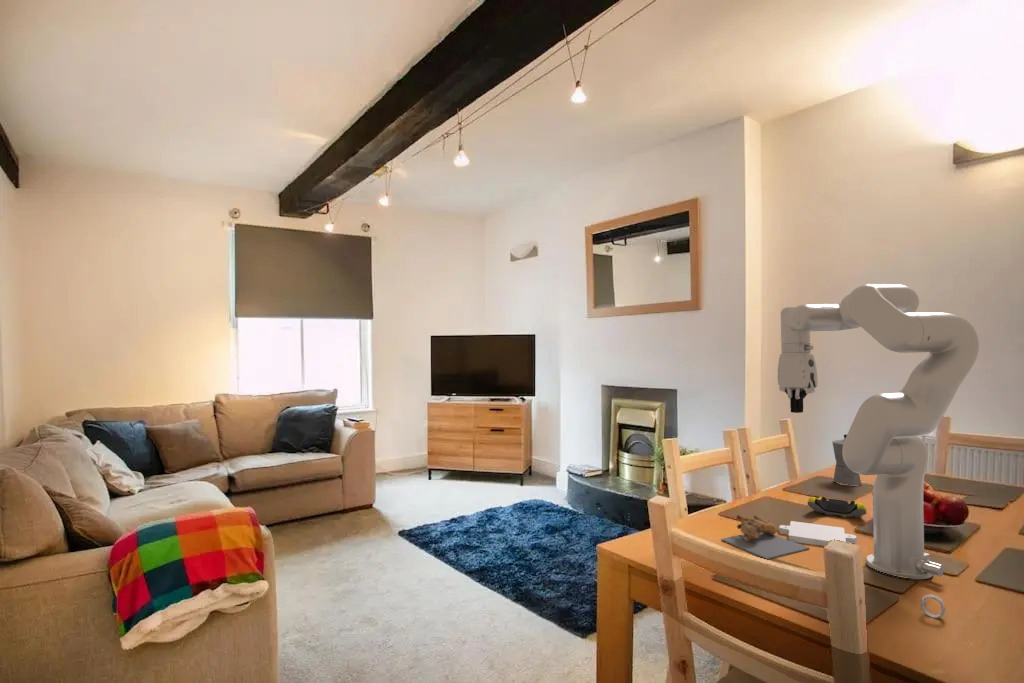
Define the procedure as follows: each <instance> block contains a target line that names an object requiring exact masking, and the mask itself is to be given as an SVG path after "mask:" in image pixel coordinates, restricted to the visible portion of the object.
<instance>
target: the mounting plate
mask: <svg viewBox="0 0 1024 683" xmlns="http://www.w3.org/2000/svg"><path fill="white" fill-rule="evenodd" d="M778 529H779V534H780V535H787V536H788V540H790V541H793V542H795V543H798V544H808V545H812V546H813V545H814V546H819V545H821V546H820V547H826V546H825V545H826V544H827V543H828V542H829V541H830V540H834V539H835V540H840V541H844V542H851V543H854V544H853V545H856V544H857V535H855V534H851V533H845V527H840V526H833V525H832V526H831V525H824V524H818V523H809V522H803V521H802V522H801V521H794V520H791V521H790V523H789V525H785V524H781V525H779V528H778ZM822 545H823V546H822Z"/></svg>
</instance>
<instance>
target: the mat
mask: <svg viewBox="0 0 1024 683" xmlns="http://www.w3.org/2000/svg"><path fill="white" fill-rule="evenodd" d="M743 536H744V533H742V534H737V535H734V536H728V537H724V538H720V539H721V540H722V541H721V540H720V541H721V542H724V541H725V542H724V543H726V544H728V543H729V544H728V545H731V546H733V545H734V547H736V548H738V547H739V548H738V549H739V550H740V549H741V550H743V551H745V552H748V553H750V554H753V555H754V556H757V557H758V558H761V557H763V558H762V559H764V558H767V559H768V560H771V559H775V558H780V557H783V556H788V555H792V554H797V553H799V552H800V553H801V552H804V551H808V550H810V547H809V546H806V545H803V544H802V543H799V542H793V541H790V540H789V539H786V538H785V537H782V536H779V535H776V534H773V535H770V534H767V533H765V532H762V533H760V535H759V538H754V539H751V540H750V541H749V542H747V541H746V540H745V539H744V538H743Z"/></svg>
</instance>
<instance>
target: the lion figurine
mask: <svg viewBox="0 0 1024 683" xmlns="http://www.w3.org/2000/svg"><path fill="white" fill-rule="evenodd" d="M736 520H739V521H741V523H738V524H737V525H736V527H737V529H738V530H740V532H741V533H742V534H744V536H743V538H744V539H745V540H746V541H747V542H749V541H750V540H751V539H754V538H759V535H760V533H762V532H765V533H767V534H770V535H773V534H774V535H776V533H777V532H778V529H777V527H776V525H775V524H774V523H772V522H771V521H770V520H766V519H763V518H761V517H759V516H758V515H756V514H754V515H753V518H748V517H745V516H741V515H740V514H737V515H736Z"/></svg>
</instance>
